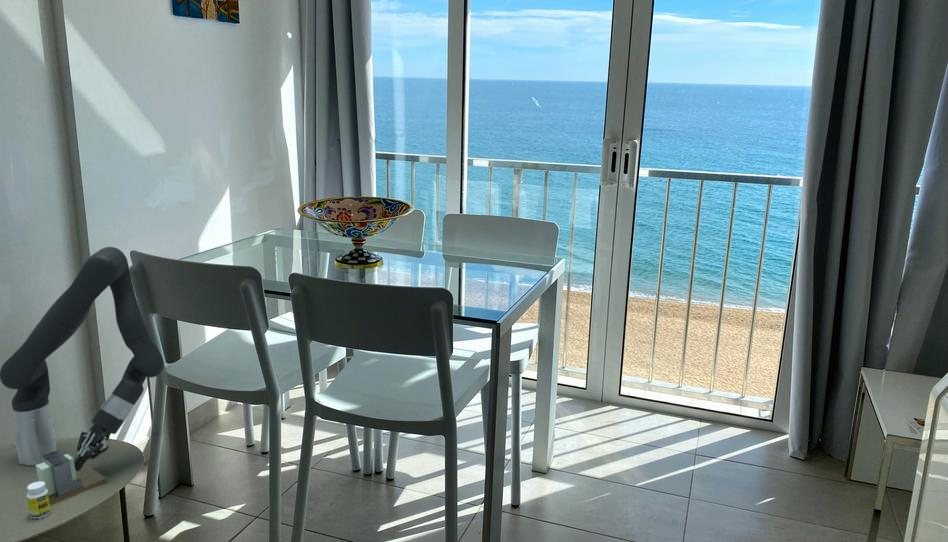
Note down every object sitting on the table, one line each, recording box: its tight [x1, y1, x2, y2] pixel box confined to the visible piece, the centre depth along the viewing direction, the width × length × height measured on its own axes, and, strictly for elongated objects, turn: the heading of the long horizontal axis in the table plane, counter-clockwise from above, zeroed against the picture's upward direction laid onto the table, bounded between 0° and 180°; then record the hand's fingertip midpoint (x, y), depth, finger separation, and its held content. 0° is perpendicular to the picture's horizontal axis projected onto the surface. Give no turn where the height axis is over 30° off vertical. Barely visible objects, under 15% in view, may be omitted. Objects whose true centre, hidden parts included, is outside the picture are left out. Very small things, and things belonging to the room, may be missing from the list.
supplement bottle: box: [26, 481, 52, 520], centre depth 182 cm, size 5×5×8 cm
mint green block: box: [35, 453, 77, 496], centre depth 192 cm, size 8×4×8 cm, turn 141°
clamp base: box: [41, 449, 107, 506], centre depth 195 cm, size 15×9×10 cm, turn 141°
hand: (74, 469), depth 196 cm, fingers closed
